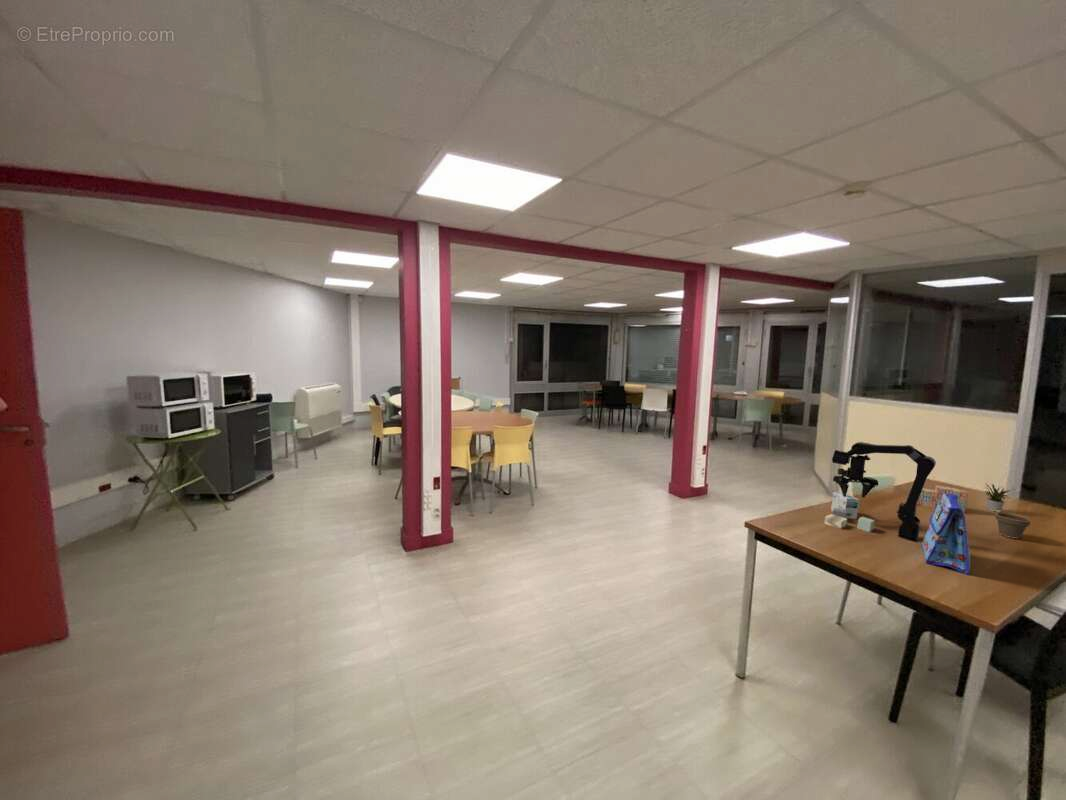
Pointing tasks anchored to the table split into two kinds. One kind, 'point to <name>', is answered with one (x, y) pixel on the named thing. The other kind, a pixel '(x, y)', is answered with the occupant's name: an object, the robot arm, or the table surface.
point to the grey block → (839, 512)
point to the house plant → (996, 498)
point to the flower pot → (1011, 524)
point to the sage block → (865, 524)
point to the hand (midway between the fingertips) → (853, 497)
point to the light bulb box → (845, 504)
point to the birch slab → (835, 521)
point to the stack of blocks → (934, 496)
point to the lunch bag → (947, 536)
